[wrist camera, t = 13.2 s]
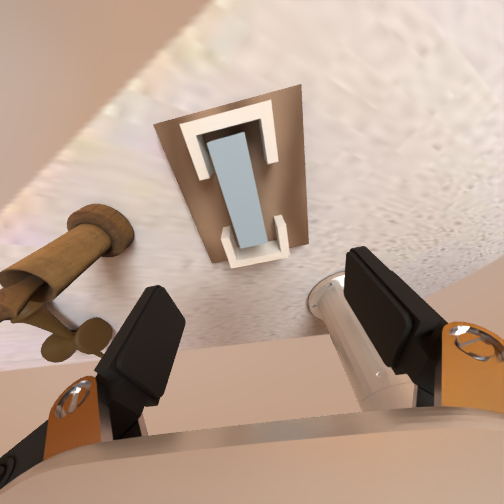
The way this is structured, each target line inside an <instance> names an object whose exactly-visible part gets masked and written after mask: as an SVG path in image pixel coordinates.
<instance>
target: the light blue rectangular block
mask: <svg viewBox="0 0 504 504" xmlns="http://www.w3.org/2000/svg"><path fill="white" fill-rule="evenodd" d="M207 146H208V149H209V152H210V155H211V158H212V161H213V164H214V168H215V171H216V174H217V177H218V180H219V183H220V186H221V189H222V192H223V196H224V199H225V202H226V205H227V208H228V211H229V214H230V217H231V220H232V224H233V227H234V230H235V233H236V236H237V239H238V242H239V245H240V248H241V249H242V248H246V247H251V246H255V245H260V244H264V243H268V240H267V235H266V230H265V226H264V221H263V216H262V212H261V207H260V202H259V198H258V193H257V188H256V184H255V179H254V174H253V170H252V165H251V161H250V156H249V151H248V147H247V142H246V137H245V133H244V132H240V133H237V134H233V135H229V136H226V137H222V138H219V139H215V140H213V141H210V142H208V143H207Z"/></svg>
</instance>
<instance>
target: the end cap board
mask: <svg viewBox="0 0 504 504" xmlns="http://www.w3.org/2000/svg"><path fill="white" fill-rule="evenodd" d="M268 100H271V103H272V111H273V119H274V128H275V136H276V144H277V153H278V161H279V162H274V163H270V164H267V162H266V161H265V159H264V153H263V146H262V140H261V134H260V127H259V121H258V120H255V121H251V122H247V123H243V124H240V125H236V126H232V127H228V128H224V129H220V130H217V131H213V132H209V133H205V134H202V136H203V139H204V142H205V145H206V148H207V152H208V155H209V158H210V161H211V165H212V168H213V171H214V172H213V174H212V175H211V177H210V178H208V179H204V180H199V177H198V175H197V172H196V169H195V166H194V163H193V161H192V158H191V155H190V152H189V150H188V147H187V144H186V141H185V138H184V136H183V133H182V130H181V127H180V125H179V124H183V123H186V122H190V121H194V120H197V119H201V118H205V117H208V116H212V115H216V114H220V113H223V112H227V111H231V110H234V109H238V108H242V107H245V106H249V105H253V104H257V103H260V102H264V101H268ZM154 128H155V130H156V132H157V135H158V137H159V139H160V142H161V144H162V146H163V149H164V151H165V153H166V156H167V158H168V161H169V163H170V165H171V168H172V170H173V172H174V175H175V177H176V179H177V182H178V184H179V186H180V189H181V191H182V193H183V196H184V198H185V200H186V203H187V205H188V207H189V210H190V212H191V214H192V217H193V219H194V221H195V224H196V226H197V228H198V231H199V233H200V235H201V238H202V240H203V242H204V245H205V247H206V250H207V252H208V254H209V257H210V259H211V261H212V263H217V262H222V261H227V260H228V258H227V255H226V252H225V249H224V247H223V244H222V241H221V235H222V230H223V227H227V226H231V229H232V232H233V235H234V239H235V242H236V245H237V248H240V245H239V242H238V239H237V236H236V233H235V230H234V227H233V224H232V220H231V217H230V214H229V211H228V208H227V205H226V202H225V199H224V196H223V192H222V189H221V186H220V183H219V180H218V177H217V174H216V171H215V168H214V164H213V161H212V158H211V155H210V152H209V149H208V146H207V143H208V142H210V141H213V140H215V139H219V138H222V137H226V136H229V135H233V134H237V133H240V132H244V133H245V137H246V142H247V147H248V151H249V156H250V161H251V165H252V170H253V174H254V179H255V184H256V188H257V193H258V198H259V202H260V207H261V212H262V216H263V221H264V226H265V230H266V235H267V240H268V242H269V241H274V240H277V234H276V228H275V222H274V216H278V215H282V217H283V219H284V221H285V223H286V227H287V235H288V244H289V248H291V247H296V246H301V245H306V244H309V239H308V217H307V196H306V175H305V154H304V133H303V112H302V91H301V84H300V85H296V86H293V87H289V88H285V89H282V90H278V91H274V92H271V93H267V94H263V95H260V96H256V97H252V98H249V99H245V100H241V101H238V102H234V103H230V104H227V105H223V106H219V107H216V108H212V109H208V110H205V111H201V112H197V113H194V114H190V115H186V116H183V117H179V118H175V119H172V120H168V121H165V122H161V123H157V124H154Z"/></svg>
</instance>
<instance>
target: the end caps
mask: <svg viewBox="0 0 504 504" xmlns="http://www.w3.org/2000/svg"><path fill="white" fill-rule="evenodd" d="M255 120H258V121H259V127H260V134H261V140H262V146H263V153H264V159H265V161H266V162H267V164H270V163H274V162H279V161H278V153H277V144H276V136H275V128H274V119H273V111H272V103H271V100H268V101H264V102H260V103H257V104H253V105H249V106H245V107H242V108H238V109H234V110H231V111H227V112H223V113H220V114H216V115H212V116H208V117H205V118H201V119H197V120H194V121H190V122H186V123H183V124H179V125H180V127H181V130H182V133H183V136H184V138H185V141H186V144H187V147H188V150H189V152H190V155H191V158H192V161H193V163H194V166H195V169H196V172H197V175H198V177H199V180H204V179H208V178H210V177H211V175H212V174H213V172H214V171H213V168H212V165H211V161H210V158H209V155H208V152H207V148H206V145H205V142H204V139H203V136H202V134H205V133H209V132H213V131H217V130H220V129H224V128H228V127H232V126H236V125H240V124H243V123H247V122H251V121H255ZM274 222H275V228H276V234H277V240H274V241H269V242H268V243H264V244H260V245H255V246H251V247H246V248H242V249H241V248H237V245H236V242H235V239H234V235H233V232H232V229H231V226H227V227H223V230H222V235H221V241H222V244H223V247H224V249H225V252H226V255H227V258H228V261H229V263H230V266H231V269H232V268H237V267H242V266H247V265H252V264H257V263H262V262H267V261H272V260H277V259H282V258H287V257H290V252H289V244H288V235H287V227H286V223H285V221H284V219H283V217H282V215H278V216H274Z"/></svg>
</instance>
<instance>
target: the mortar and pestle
mask: <svg viewBox="0 0 504 504" xmlns="http://www.w3.org/2000/svg"><path fill="white" fill-rule="evenodd" d="M67 229H68V232H67V233H65V234H64V235H62V236H61V237H59V238H57V239H56V240H54V241H52V242H51V243H49V244H47V245H46V246H44V247H42V248H41V249H39V250H37V251H36V252H34V253H32V254H30V255H29V256H27V257H25V258H24V259H22V260H20V261H18V262H17V263H15V264H13V265H12V266H10V267H8V268H6V269H5V270H3V271H1V272H0V284H1V285H2V286H3V287H4V289H2V290H0V322H2V321H4V320H12V319H14V318H16V317H17V316H18V315H19V314H20V313H21V311H22V310H23V309H24V308H25V306H26V305H27V304H28V302H29V301H33V302H39V303H45V302H50V301H52V300H54V299H55V298H56V297H57V296H58V295H59V294H60V293H61V292H63V291H64V290H65V289H66V288H67V287H68V286H69V285H70V284H71V283H72V282H73V281H74V280H75V279H77V278H78V277H79V276H80V275H81V274H82V273H83V272H84V271H85V270H86V269H87V268H89V267H90V266H91V265H92V264H93V263H94V262H95V261H96V260H98V259H99V258H100V257H101V256H102V257H114V256H117V255H119V254H121V253H122V252H123V251H124V250H125V249H126V248H127V247H128V246H129V245H130V244H131V243H132V241H133V238H134V232H133V228H132V226H131V225H130V223H129V221H128V220H127V219H126V218H125V217H124V216H123V215H122V214H121V213H120V212H118V211H117V210H115V209H113V208H111V207H109V206H106V205H102V204H90V205H87V206H85V207H83V208H81V209H80V210H78V211H76V212H74V213H73V214H71V215H70V217H69V218H68V221H67Z"/></svg>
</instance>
